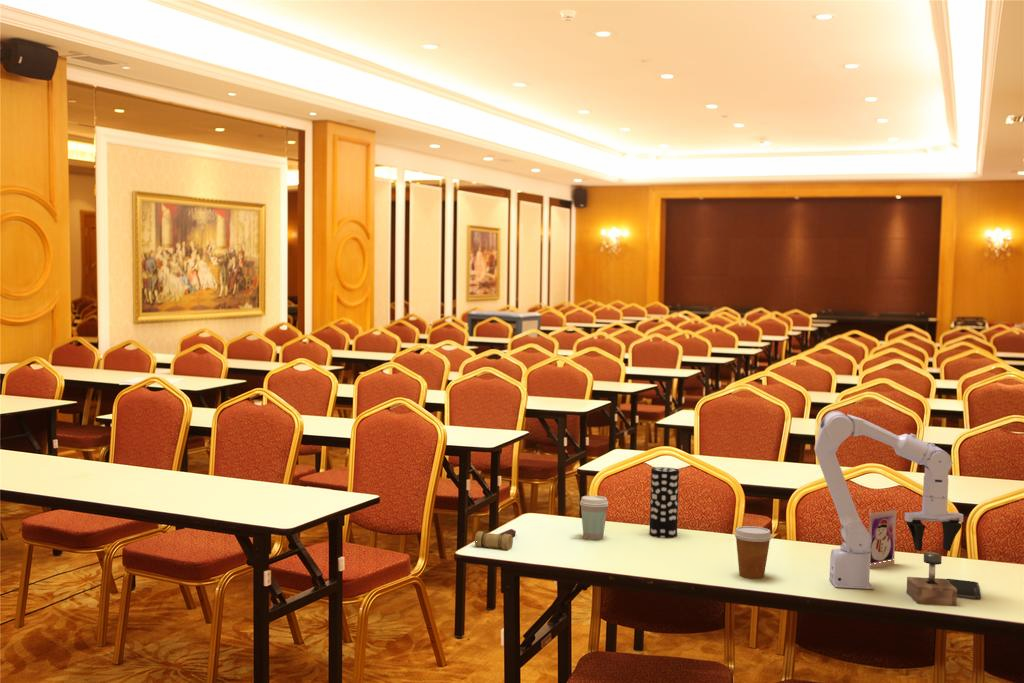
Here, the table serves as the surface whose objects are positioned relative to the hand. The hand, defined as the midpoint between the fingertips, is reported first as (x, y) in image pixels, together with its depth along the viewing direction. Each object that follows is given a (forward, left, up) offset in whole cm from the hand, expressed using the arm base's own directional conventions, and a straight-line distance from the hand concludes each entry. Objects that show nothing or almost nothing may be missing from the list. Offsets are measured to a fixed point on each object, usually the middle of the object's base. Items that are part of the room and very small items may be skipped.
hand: (932, 550), depth 253 cm
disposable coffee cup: (-43, +6, -10) cm, 45 cm away
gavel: (-111, +30, -11) cm, 116 cm away
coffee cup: (-85, +40, -10) cm, 95 cm away
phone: (+8, +2, -11) cm, 14 cm away
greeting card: (-8, +25, -10) cm, 28 cm away
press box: (-2, -8, -10) cm, 13 cm away
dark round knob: (-2, -8, -7) cm, 11 cm away
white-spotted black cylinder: (-64, +48, -10) cm, 81 cm away
